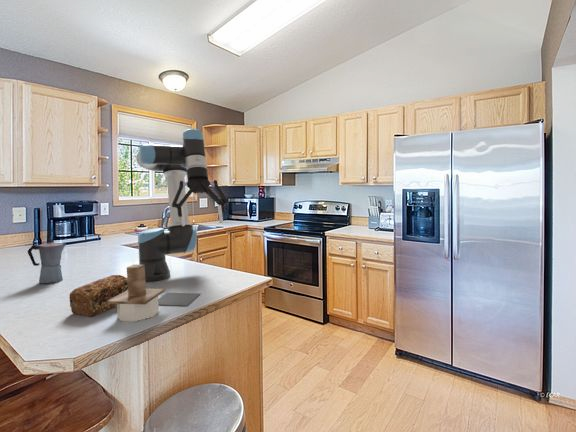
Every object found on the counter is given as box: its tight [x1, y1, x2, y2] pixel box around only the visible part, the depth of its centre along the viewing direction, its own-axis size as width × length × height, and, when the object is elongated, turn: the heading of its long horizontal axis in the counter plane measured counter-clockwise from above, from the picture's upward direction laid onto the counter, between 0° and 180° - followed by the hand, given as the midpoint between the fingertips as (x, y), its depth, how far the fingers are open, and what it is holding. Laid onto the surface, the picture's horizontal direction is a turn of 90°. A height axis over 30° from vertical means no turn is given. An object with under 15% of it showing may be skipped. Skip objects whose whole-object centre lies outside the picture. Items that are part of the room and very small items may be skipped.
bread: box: [68, 274, 128, 318], centre depth 117 cm, size 19×11×10 cm, turn 159°
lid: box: [107, 264, 166, 304], centre depth 108 cm, size 13×13×11 cm
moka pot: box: [27, 238, 67, 284], centre depth 148 cm, size 10×15×20 cm, turn 155°
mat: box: [158, 291, 201, 307], centre depth 123 cm, size 14×13×1 cm
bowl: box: [116, 295, 160, 322], centre depth 109 cm, size 12×12×6 cm
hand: (203, 224), depth 117 cm, fingers open, 13 cm apart
